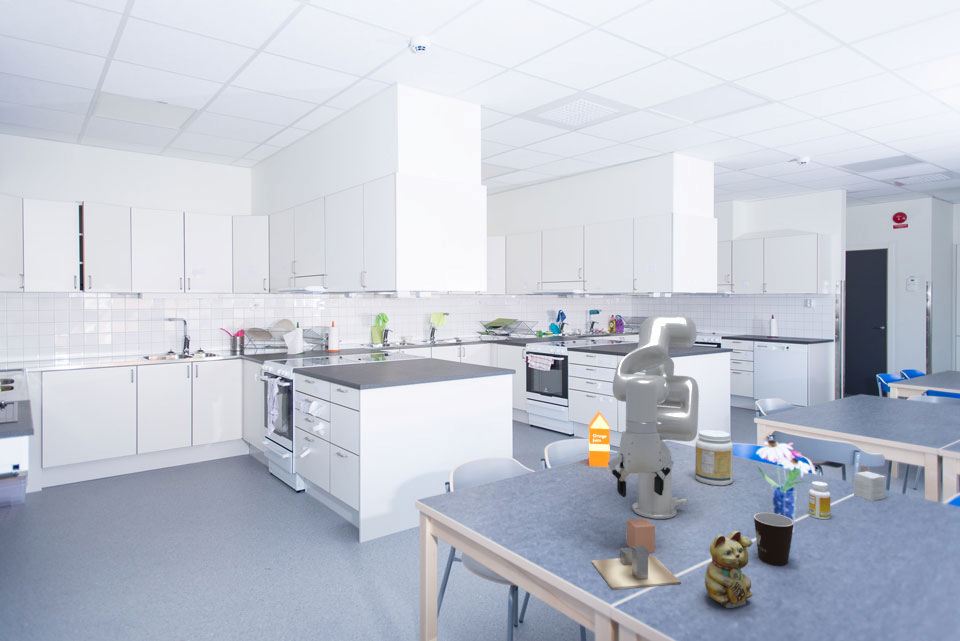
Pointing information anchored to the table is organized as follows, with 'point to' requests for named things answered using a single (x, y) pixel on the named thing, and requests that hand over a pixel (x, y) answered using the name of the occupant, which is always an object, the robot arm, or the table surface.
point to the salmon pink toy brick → (641, 534)
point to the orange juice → (599, 441)
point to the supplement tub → (714, 457)
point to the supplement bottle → (819, 500)
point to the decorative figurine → (729, 570)
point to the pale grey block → (869, 485)
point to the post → (640, 562)
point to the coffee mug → (773, 538)
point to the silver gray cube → (626, 556)
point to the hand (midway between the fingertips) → (640, 494)
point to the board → (624, 579)
